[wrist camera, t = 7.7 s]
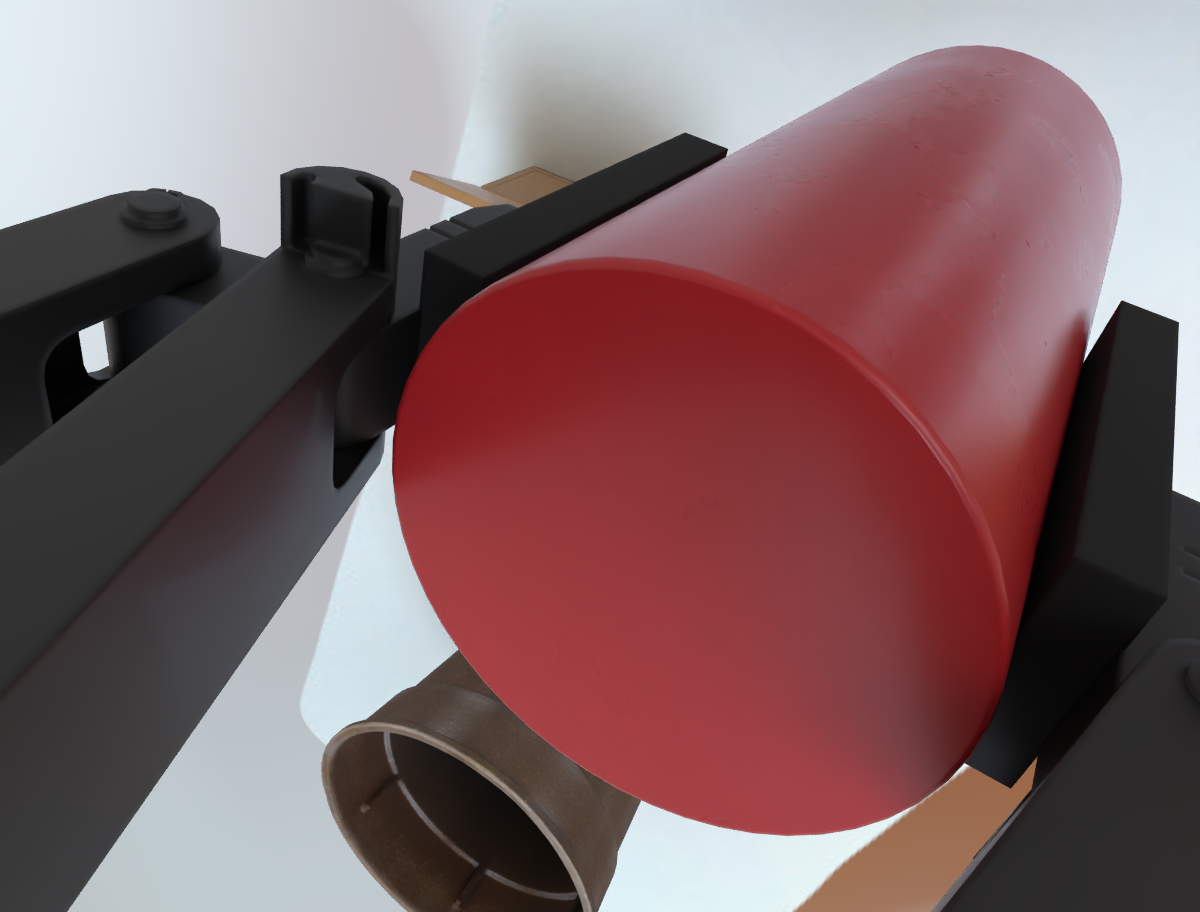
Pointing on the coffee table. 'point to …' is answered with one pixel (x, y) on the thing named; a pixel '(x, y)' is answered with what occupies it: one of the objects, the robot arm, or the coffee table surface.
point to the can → (775, 449)
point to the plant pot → (471, 804)
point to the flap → (460, 190)
